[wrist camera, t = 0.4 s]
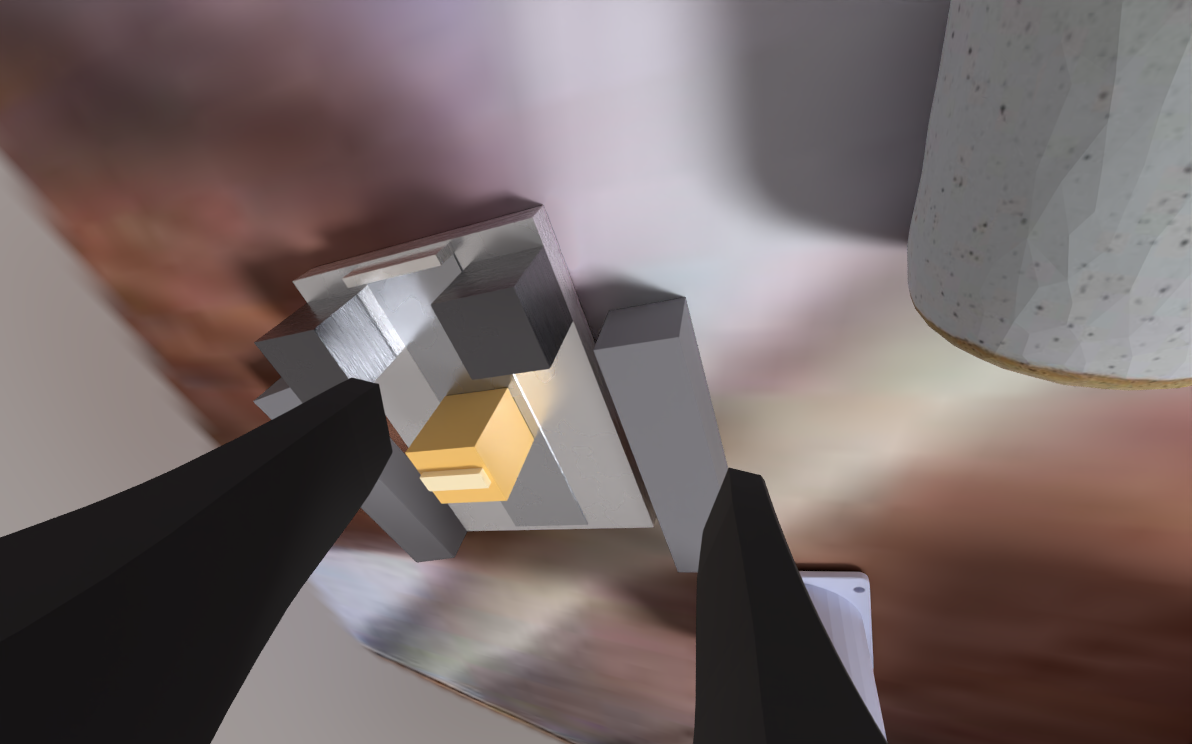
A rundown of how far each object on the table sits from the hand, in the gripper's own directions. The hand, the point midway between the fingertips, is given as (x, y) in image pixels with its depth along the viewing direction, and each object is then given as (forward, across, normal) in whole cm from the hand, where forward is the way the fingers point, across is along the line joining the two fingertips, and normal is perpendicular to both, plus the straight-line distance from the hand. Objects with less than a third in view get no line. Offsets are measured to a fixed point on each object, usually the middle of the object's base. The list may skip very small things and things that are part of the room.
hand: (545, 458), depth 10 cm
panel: (+10, +5, +8) cm, 14 cm away
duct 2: (+10, -4, +8) cm, 13 cm away
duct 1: (+10, +12, +15) cm, 21 cm away
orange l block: (+9, +5, +8) cm, 13 cm away
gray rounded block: (+10, -12, -7) cm, 17 cm away
